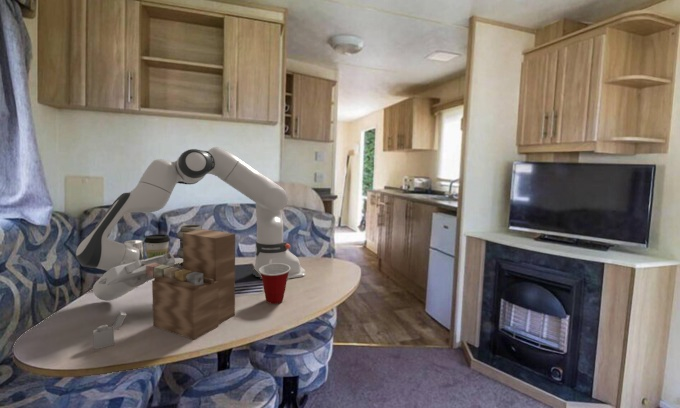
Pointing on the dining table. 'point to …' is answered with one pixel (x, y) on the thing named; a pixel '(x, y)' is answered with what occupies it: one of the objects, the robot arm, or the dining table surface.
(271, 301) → the plastic cup
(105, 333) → the lighter
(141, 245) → the beer glass
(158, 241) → the coffee cup
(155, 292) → the walnut display stand
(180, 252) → the apothecary jar
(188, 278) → the bead bar
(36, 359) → the dining table surface
